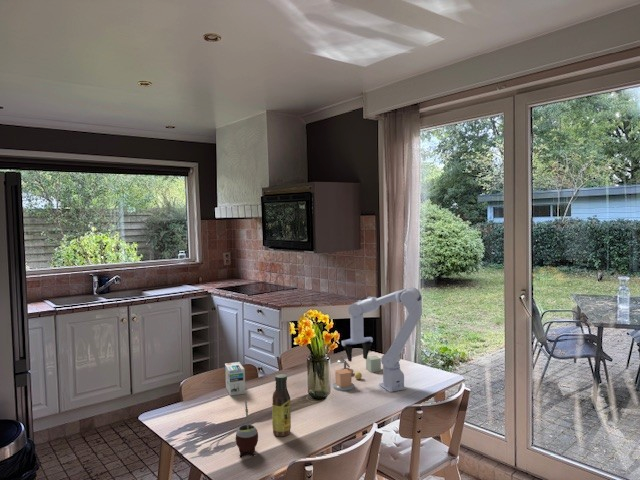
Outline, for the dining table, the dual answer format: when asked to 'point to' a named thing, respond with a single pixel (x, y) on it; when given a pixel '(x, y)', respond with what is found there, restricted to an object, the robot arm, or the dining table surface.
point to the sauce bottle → (281, 407)
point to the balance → (344, 364)
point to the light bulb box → (235, 378)
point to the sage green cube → (373, 363)
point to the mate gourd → (246, 437)
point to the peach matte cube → (343, 378)
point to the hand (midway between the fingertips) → (357, 359)
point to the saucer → (343, 387)
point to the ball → (358, 375)
